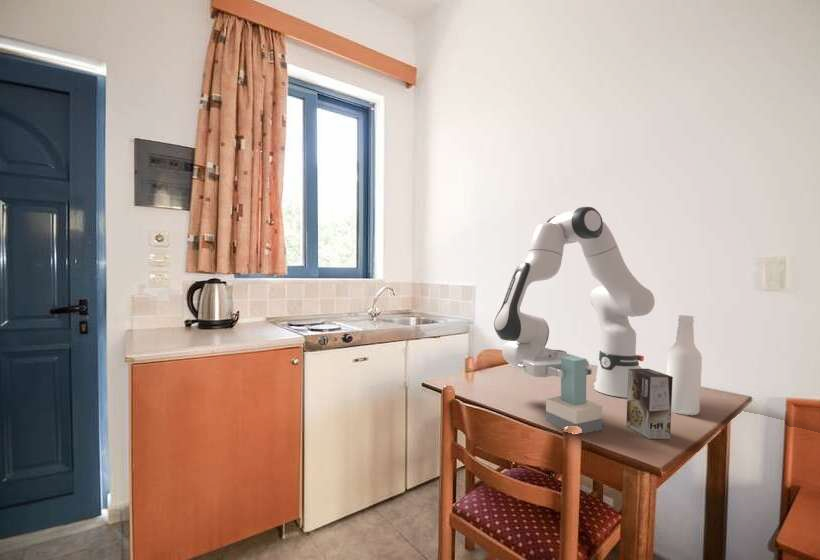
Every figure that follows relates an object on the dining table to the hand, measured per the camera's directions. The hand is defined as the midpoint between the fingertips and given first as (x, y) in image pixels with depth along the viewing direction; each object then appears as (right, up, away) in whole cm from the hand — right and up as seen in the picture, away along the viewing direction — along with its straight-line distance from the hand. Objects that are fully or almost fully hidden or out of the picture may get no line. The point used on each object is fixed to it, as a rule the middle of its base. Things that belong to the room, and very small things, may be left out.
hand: (577, 373), depth 104 cm
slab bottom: (-1, -15, +1) cm, 15 cm away
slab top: (-1, -11, 0) cm, 12 cm away
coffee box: (+18, -15, -2) cm, 24 cm away
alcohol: (+40, -16, +15) cm, 45 cm away
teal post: (-1, -8, +1) cm, 8 cm away
